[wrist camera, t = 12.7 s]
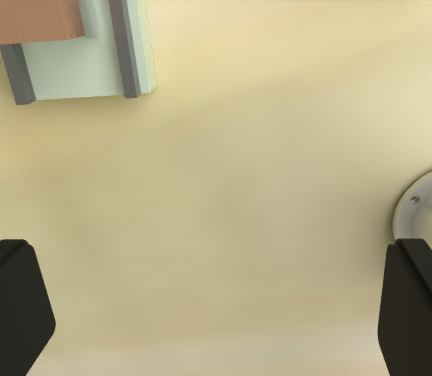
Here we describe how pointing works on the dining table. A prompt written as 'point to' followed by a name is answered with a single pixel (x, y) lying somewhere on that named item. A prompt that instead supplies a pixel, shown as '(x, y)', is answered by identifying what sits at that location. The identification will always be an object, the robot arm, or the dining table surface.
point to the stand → (87, 59)
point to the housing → (47, 20)
